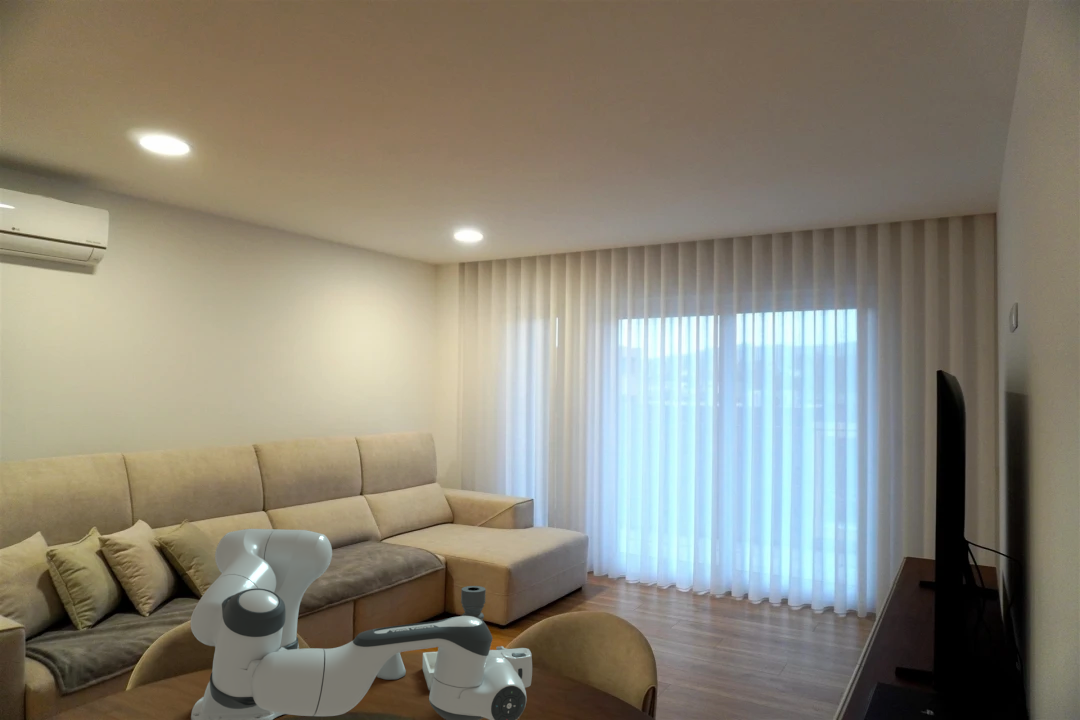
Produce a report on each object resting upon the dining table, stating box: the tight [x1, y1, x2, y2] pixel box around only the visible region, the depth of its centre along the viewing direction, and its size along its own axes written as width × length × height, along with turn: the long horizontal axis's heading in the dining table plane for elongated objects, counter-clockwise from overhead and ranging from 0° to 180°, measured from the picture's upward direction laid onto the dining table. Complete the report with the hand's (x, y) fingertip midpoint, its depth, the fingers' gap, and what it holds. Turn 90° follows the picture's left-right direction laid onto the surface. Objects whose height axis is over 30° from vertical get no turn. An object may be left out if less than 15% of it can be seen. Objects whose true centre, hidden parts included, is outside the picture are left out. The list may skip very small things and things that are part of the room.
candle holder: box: [460, 585, 487, 620], centre depth 164 cm, size 6×6×25 cm
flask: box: [376, 652, 407, 680], centre depth 176 cm, size 7×7×10 cm
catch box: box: [421, 651, 438, 691], centre depth 176 cm, size 14×14×4 cm
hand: (479, 651), depth 158 cm, fingers open, 8 cm apart
